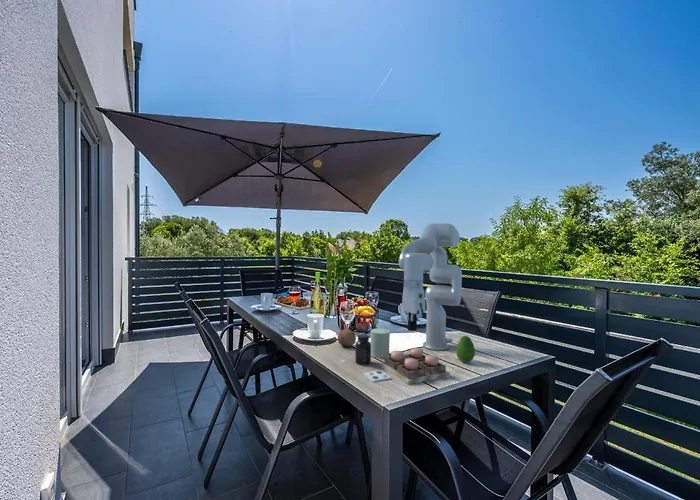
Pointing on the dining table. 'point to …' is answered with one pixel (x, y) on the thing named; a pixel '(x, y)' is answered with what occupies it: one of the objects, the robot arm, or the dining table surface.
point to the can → (380, 343)
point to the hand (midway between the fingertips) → (412, 330)
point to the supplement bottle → (363, 350)
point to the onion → (346, 338)
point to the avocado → (465, 349)
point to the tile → (377, 375)
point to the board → (414, 370)
